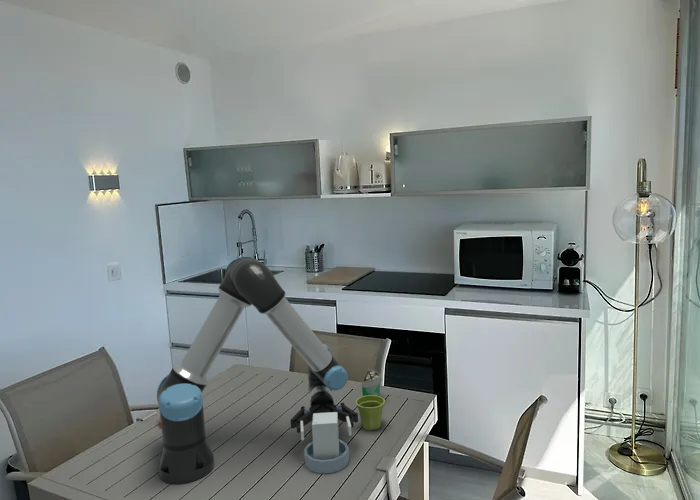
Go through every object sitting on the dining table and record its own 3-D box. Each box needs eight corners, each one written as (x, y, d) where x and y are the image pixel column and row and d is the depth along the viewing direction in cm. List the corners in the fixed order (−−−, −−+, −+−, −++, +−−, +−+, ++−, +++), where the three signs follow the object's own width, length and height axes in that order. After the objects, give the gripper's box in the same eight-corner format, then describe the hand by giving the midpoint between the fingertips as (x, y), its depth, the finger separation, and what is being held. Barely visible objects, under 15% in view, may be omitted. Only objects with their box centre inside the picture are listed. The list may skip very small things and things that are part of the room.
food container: (379, 409, 179) (378, 382, 178) (362, 408, 181) (361, 381, 179) (384, 394, 191) (383, 369, 190) (368, 394, 193) (367, 368, 191)
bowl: (305, 476, 141) (304, 463, 141) (304, 451, 154) (303, 440, 153) (351, 470, 143) (351, 458, 142) (346, 447, 155) (345, 436, 155)
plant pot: (376, 435, 161) (375, 409, 160) (351, 429, 166) (350, 403, 165) (390, 423, 169) (389, 398, 168) (366, 417, 174) (365, 393, 173)
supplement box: (339, 465, 145) (337, 423, 143) (313, 466, 145) (311, 424, 143) (340, 451, 152) (337, 411, 150) (315, 452, 152) (312, 412, 150)
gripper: (360, 408, 168) (370, 441, 148) (283, 416, 166) (283, 450, 145) (359, 387, 167) (369, 416, 147) (282, 394, 165) (281, 425, 144)
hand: (326, 433), depth 146 cm, fingers open, 13 cm apart
